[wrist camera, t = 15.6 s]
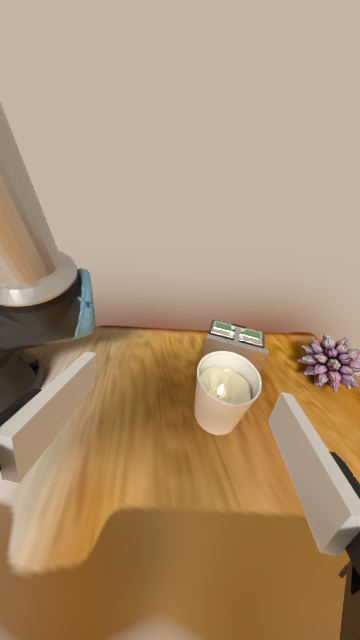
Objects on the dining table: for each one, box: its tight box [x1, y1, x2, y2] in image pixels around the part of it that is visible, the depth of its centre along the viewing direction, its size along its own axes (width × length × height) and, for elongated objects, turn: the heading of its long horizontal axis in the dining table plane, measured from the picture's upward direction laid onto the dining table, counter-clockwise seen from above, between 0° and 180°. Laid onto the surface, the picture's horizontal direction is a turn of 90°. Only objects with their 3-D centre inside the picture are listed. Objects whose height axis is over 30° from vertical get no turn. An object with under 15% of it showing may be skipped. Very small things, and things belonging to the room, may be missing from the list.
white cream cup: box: [194, 351, 262, 435], centre depth 34 cm, size 10×10×12 cm
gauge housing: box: [208, 320, 265, 349], centre depth 46 cm, size 12×5×8 cm, turn 71°
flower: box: [298, 334, 360, 392], centre depth 41 cm, size 12×12×12 cm
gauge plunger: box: [202, 324, 269, 372], centre depth 43 cm, size 12×7×9 cm, turn 71°
